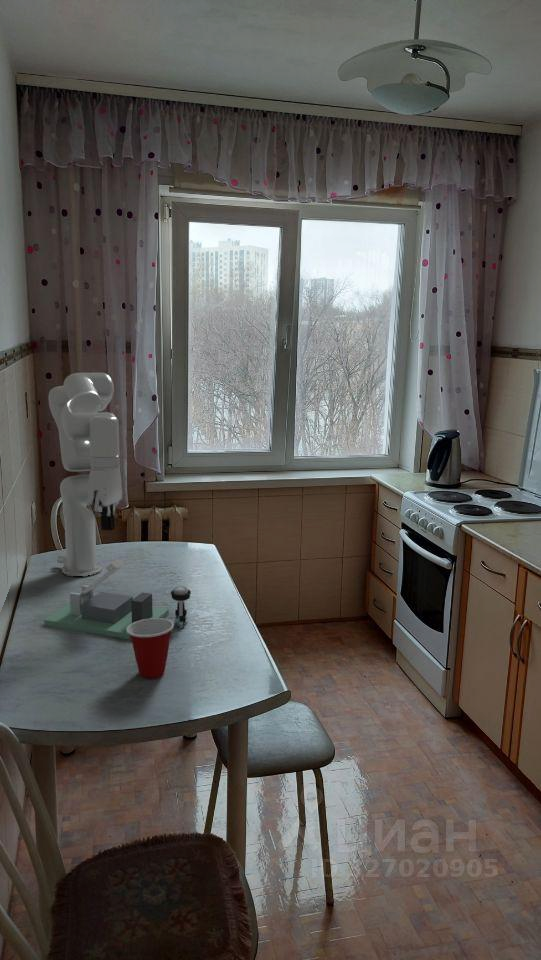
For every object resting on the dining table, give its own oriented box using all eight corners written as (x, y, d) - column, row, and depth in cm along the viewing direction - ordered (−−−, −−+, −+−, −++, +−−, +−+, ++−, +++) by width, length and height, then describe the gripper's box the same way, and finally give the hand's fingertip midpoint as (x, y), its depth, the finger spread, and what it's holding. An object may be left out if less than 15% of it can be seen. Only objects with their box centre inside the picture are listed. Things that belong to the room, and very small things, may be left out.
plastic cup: (153, 657, 171) (152, 611, 168) (184, 671, 164) (183, 624, 162) (117, 674, 163) (116, 625, 160) (148, 689, 156) (147, 639, 153)
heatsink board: (44, 624, 188) (42, 596, 186) (81, 600, 205) (80, 574, 203) (137, 640, 180) (137, 611, 178) (169, 614, 197) (168, 587, 195)
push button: (190, 629, 187) (190, 593, 185) (170, 629, 187) (170, 594, 184) (190, 619, 194) (190, 584, 191) (171, 619, 193) (170, 585, 191)
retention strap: (77, 600, 192) (72, 594, 192) (86, 595, 196) (81, 588, 196) (117, 569, 185) (112, 562, 186) (125, 564, 190) (120, 557, 190)
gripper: (107, 457, 194) (110, 521, 198) (77, 466, 180) (80, 535, 184) (131, 458, 192) (134, 524, 196) (102, 467, 178) (105, 537, 182)
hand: (108, 529), depth 190 cm, fingers closed
